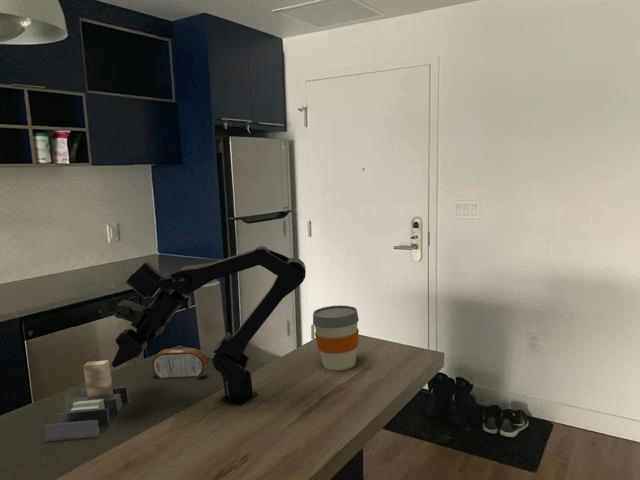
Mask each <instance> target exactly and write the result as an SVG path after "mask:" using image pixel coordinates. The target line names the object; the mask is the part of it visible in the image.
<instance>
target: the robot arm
mask: <svg viewBox="0 0 640 480" xmlns="http://www.w3.org/2000/svg"><path fill="white" fill-rule="evenodd" d="M257 266H260V267H262V268H264V269H266V270H267V271H269V272H271V273H272V274H274V275H276V277H275V278H274V281H273V283H272V285H271V287H270V288H269V290H268V291H267V292H266V293H265V295H264V296H263V297H262V299H261V300H260V301H259V302H258V303H257V305H256V306H255V308H254V309H253V310H252V312H250V314H249V315H248V317H247V318H246V319H245V320H244V322H243V323H242V324H241V325H240V327H239V328H238V329H237V330H236V331H235V332H234V333H232V334H231V333H230V332H229V331H227V332H225V334H226V335H225V337H224V339H223V340H222V341H220V342H219V343H218V344H217V346H216V348H215V350H214V352H213V353H215V355H214V357H213V358H212V360H211V361H212V365H213V367H214V369H215V370H216V371H217V372H219V373H220V375H221V377H222V378H223V380H222V382H223V390H224V391H223V392H224V396H222V397H221V398H220V400H221V401H222V400H224V401H223V402H226V401H228V402H227V403H229V402H231V403H230V404H233V403H235V405H237V404H238V406H241V405H242V404H244V403H246V402H248V401H250V400H251V399H253V398H254V396H255V397H256V396H257V394H258V392H257V391H254V390H253V382H252V373H251V372H250V371H249V370H248V367H249V365H250V361H251V358H250V357H249V356H248V355H246V354H245V353H244V352H245V349H247V345H248V344H249V343H250V342H251V340H252V339H253V337H255V335H256V334H257V332H258V331H259V330H260V329H261V327H262V326H263V325H264V323H265V322H266V321H267V319H269V317H270V316H271V314H272V313H273V312H274V311H275V309H276V308H277V307H278V306H279V304H280V303H281V302H282V300H283V299H284V298H286V297H287V296H288V295H289V294H291V293H292V292H294V291H295V290H296V289H297V287H299V286H300V285H301V284H302V283H303V282H304V280H305V278H306V275H307V274H306V273H307V272H306V271H307V269H306V264H305V262H303V261H302V259H300V258H297V257H291V258H290V257H288V256H286V255H284V254H281V253H279V252H276V251H274V250H271V249H269V248H268V247H266V246H264V245H263V246H262V245H260V246H258V247H256V248H254V249H251V250H248V251H244V252H242V253H238V254H236V255H232V256H229V257H227V258H226V257H225V258H223V259H220V260H217V261H215V262H210V263H198V264H197V263H196V264H191V265H185V266H183V267H182V268H180V269H179V270H177V271H176V272H173V273H168V274H166V275H165V276H164V275H163V274H162V273H160V272H159V271H158V270H156V268H154V267H153V265H152V264H151V263H150V262H148V261H146V262H144V263H143V264H142V265H141V266H140V267H139V268H138V269H137V270H136V271H135V272H133V273H132V274H131V275H130V276H129V277H128V279H126V281H125V284H126V285H127V286H129V287H130V288H131V289H133V290H134V291H135V292H136V293H137V294H139V295H140V296H141V297H142V298H143V299H148V298H149V297H150V298H151V299H152V298H153V297H154V296H156V297H155V298H154V300H152V302H151V303H150V304H148V305H147V306H144V305H141V304H140V303H136V302H134V301H131V300H127V299H122V300H121V301H120V302H118V304H117V306H116V308H114V311H113V312H114V317H115V318H117V319H122V320H124V321H128V322H131V324H130V326H131V327H133V328H134V329H135V330H136V331H135V330H134V329H132V328H125V329H124V330H123V331H122V332H121V333H120V334H119V335H118V336H117V337H116V338H115V340H114V341H115V344H116V345H117V346H118V350H117V351H116V354H115V356H114V358H113V360H112V362H111V366H112V367H113V368H117V367H119V366H121V365H123V364H125V363H127V362H129V361H132V360H133V359H136V358H138V357H140V356H141V354H142V353H144V351H145V350H146V349H147V347H148V344H149V343H150V342H152V341H154V340H156V338H157V337H158V336H159V335H161V333H162V332H163V331H164V330H165V328H166V324H167V323H168V322H169V321H170V320H171V318H172V317H173V316H174V315H175V314H176V312H177V311H179V309H180V308H181V307H183V309H185V310H189V308H190V307H191V306H192V305H193V304H192V295H189V294H190V293H191V294H192V293H194V291H195V290H197V289H198V288H200V287H202V286H204V285H205V284H207V283H209V282H211V281H213V280H215V279H217V280H218V279H221V278H223V277H227V276H230V275H232V274H235V273H239V272H243V271H244V270H249V269H251V268H254V267H257ZM160 290H161V291H160ZM159 291H160V292H159ZM158 292H159V294H157V293H158Z"/></svg>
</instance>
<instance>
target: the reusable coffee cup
mask: <svg viewBox="0 0 640 480" xmlns="http://www.w3.org/2000/svg"><path fill="white" fill-rule="evenodd" d="M358 323H359V315H358V309H357V308H356V307H355V306H350V305H329V306H324V307H319V308H318V309H316V310H314V311H313V312H312V325H313V326H314V330H315V332H314V335H315V336H314V337H315V341H316V345H317V349H318V350H319V352H320V357H321V362H322V366H323V368H324V367H325V368H324V369H326V370H329V371H344V370H348V369H349V370H350V369H351V368H353V367H354V366H355V365H356V360H357V358H356V357H357V348H358V346H359V328H358Z"/></svg>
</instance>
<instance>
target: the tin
mask: <svg viewBox="0 0 640 480" xmlns="http://www.w3.org/2000/svg"><path fill="white" fill-rule="evenodd" d="M208 362H209V361H208V358H206V356H205V355H204V353H203V352H201V349H198V348H194V347H189V348H187V347H185V348H165V349H162V350H160V351H158V352H157V354H156V355H155V356H154V357H153V359H152V364H151V367H152V368H151V369H152V371H153V372H154V375H155V376H156V377H157V378H160V379H163V378H178V377H179V378H182V377H183V378H185V377H196V379H199V378H200V377H201V376H202V375H203V374H204V373H205V372H207V369H208V364H209V363H208Z"/></svg>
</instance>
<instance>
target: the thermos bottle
mask: <svg viewBox="0 0 640 480" xmlns="http://www.w3.org/2000/svg"><path fill="white" fill-rule="evenodd" d="M193 296H194V305H195V314H196V321H197V322H196V323H197V329H198V339H199V346H200V351H201V352H203V353H204V355H205V356H206V358H207V359H213V357H214V355H215V353H213V352H214V350H215V348H216V346H217V344H218V343H219V342H220V341H222V340H223V339H224V337H225V335H226V327H225V325H226V324H225V318H224V310H223V309H224V308H223V300H222V291H221V283H220V280H218V279H215V280H213V281H211V282H209V283H207V284H205V285H204V286H202V287H200V288H198V289H197V290H195V291H193Z"/></svg>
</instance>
